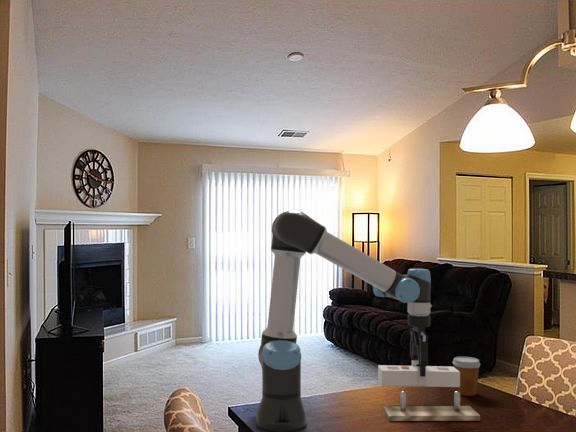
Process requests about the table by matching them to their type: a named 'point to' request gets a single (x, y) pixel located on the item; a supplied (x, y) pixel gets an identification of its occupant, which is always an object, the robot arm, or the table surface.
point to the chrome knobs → (456, 401)
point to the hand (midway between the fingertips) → (418, 382)
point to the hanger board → (431, 413)
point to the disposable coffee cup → (467, 374)
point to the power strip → (408, 376)
